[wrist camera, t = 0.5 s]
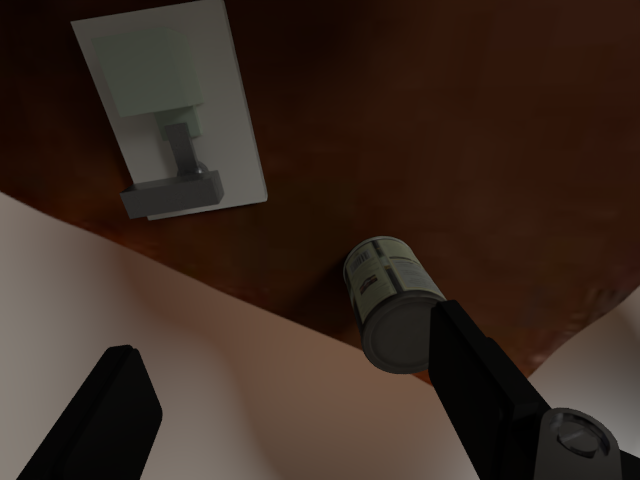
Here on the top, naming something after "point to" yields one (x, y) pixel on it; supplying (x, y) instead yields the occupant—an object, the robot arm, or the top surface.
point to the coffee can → (391, 304)
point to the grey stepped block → (152, 76)
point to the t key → (176, 182)
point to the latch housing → (214, 113)
